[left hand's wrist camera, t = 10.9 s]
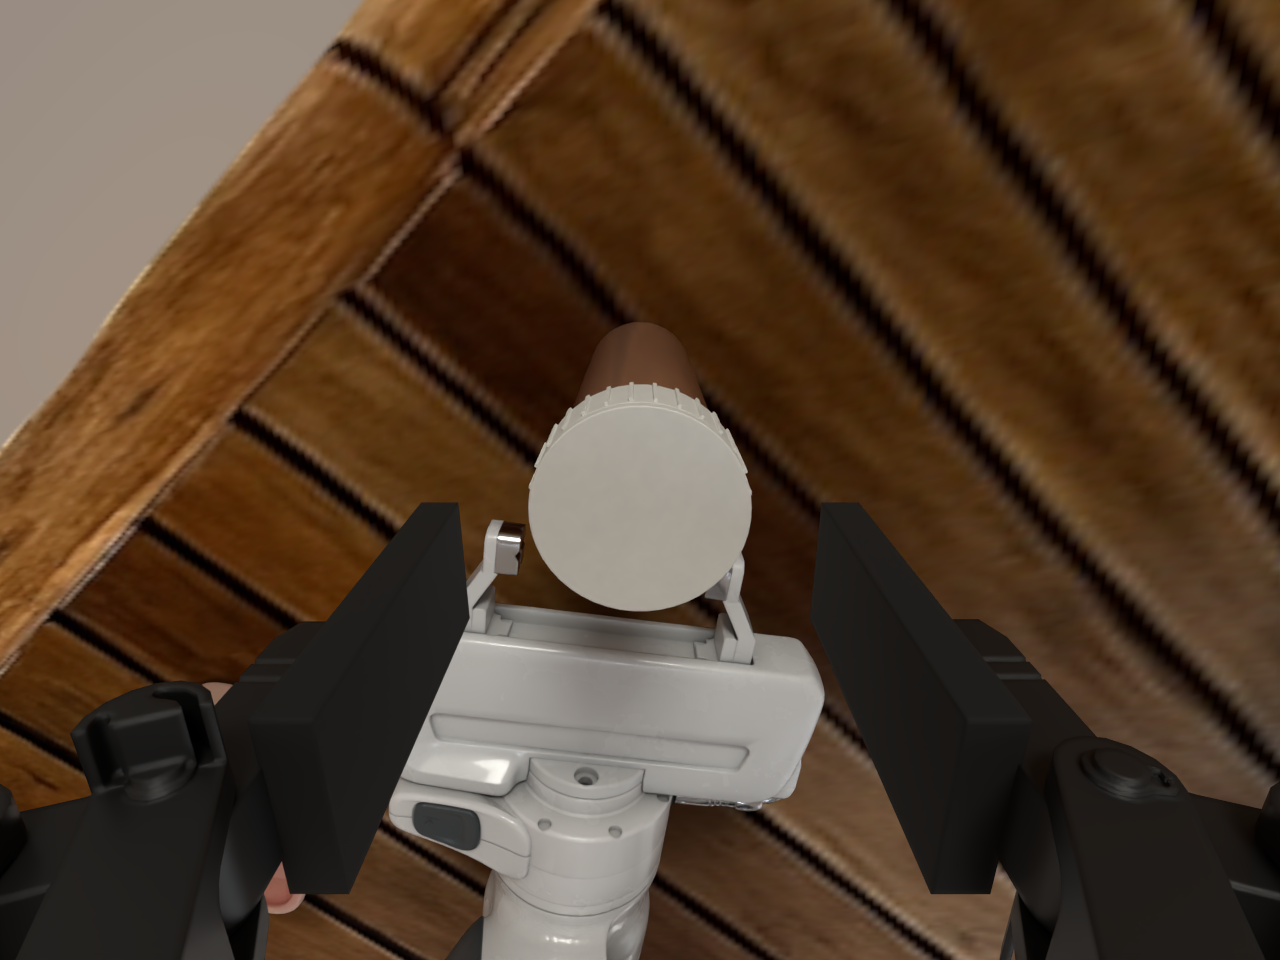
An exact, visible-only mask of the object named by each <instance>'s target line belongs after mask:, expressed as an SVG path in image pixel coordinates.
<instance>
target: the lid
mask: <svg viewBox="0 0 1280 960" xmlns="http://www.w3.org/2000/svg"><path fill="white" fill-rule="evenodd" d="M534 467H536V471H535V473H534V475H533V478H532V480H531V482H530V484H529V489H530V493H529V504H528V512H529V523H530V528H531V533H532V536H533V539H534V542H535V544H536V547H537V549H538V551H539V553H540V555H541V557H542V559H543V560H544V561H545V563H546V564H547V566H548V567H549V569H550V570H551V571H552V572H553V573H554V574H555V575H556V576H557V578H558V579H559V580H560V581H562V582H563V583H564V584H565V585H566V586H567V587H569V588H570V589H571V590H573V591H574V592H576V593H577V594H579V595H580V596H582V597H584V598H586V599H588V600H590V601H592V602H595V603H597V604H600V605H603V606H606V607H610V608H614V609H619V610H627V611H653V610H661V609H666V608H670V607H674V606H677V605H680V604H682V603H685V602H688V601H690V600H692V599H694V598H696V597H698V596H700V595H701V594H703V593H704V592H706V591H707V590H709V589H710V588H711V587H713V586H714V585H715V584H716V583H717V582H718V581H720V580H721V579H722V578H723V576H724V575H725V574H726V573H727V572H728V571H729V570H730V569H731V567H732V566H733V564H734V563H735V561H736V560H737V558H738V557H739V555H740V553H741V551H742V549H743V547H744V544H745V542H746V539H747V536H748V533H749V528H750V523H751V511H752V504H751V495H752V491H751V489H750V487H749V484H748V480H747V478H746V475H745V473H748V472H747V469H746V466H745V464H744V462H743V460H742V458H741V455H740V453H739V451H738V449H737V447H736V445H735V443H734V440H733V438H732V436H731V434H730V431H729V430H728V429H726V430H725V429H724V427H723V426H722V425H721V423H720V422H719V419H718V417H717V414H716V413H715V412H713V413H711V412H710V411H709V410H708V409H707V408H705V407H704V406H703V405H701V403H700V400H699V399H698V398H695V400H694V399H692V398H691V397H689V396H687V395H685V394H683V393H680V391H679V389H677V388H675V390H673V389H669V388H665V387H661V386H657V383H653V384H652V385H647V384H634V382H630V383H629V385H625V386H618V387H615V388H611V386H609V387H607V389H606V390H605V391H602V392H600V393H597V394H595V395H593V396H591V397H590V395H587V396H586V398H585V400H584V401H582V402H581V403H580V404H579V405H577V406H576V407H575V408H573V409H572V408H571V407H570V408H569V409H568V411H567V413H566V416H565V417H564V418H563V419H562V421H561V422H560V423H559V425H557V424H555V425H554V427H553V429H552V431H551V433H550V436H549V438H548V440H547V443H544V445H543V448H542V450H541V452H540V454H539V457H538V459H537V461H536V463H535V466H534Z"/></svg>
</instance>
